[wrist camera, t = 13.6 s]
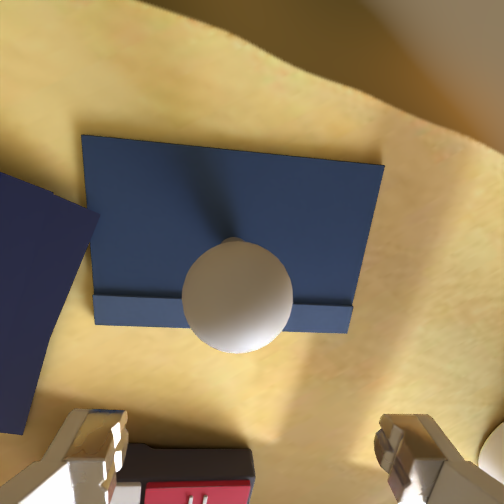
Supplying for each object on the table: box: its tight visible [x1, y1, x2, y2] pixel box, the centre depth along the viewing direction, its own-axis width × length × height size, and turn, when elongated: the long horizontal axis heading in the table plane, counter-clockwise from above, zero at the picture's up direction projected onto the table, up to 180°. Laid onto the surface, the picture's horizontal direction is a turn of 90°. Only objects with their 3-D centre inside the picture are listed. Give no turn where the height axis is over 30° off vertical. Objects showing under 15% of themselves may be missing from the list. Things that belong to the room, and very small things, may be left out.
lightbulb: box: [182, 237, 293, 353], centre depth 19 cm, size 6×6×11 cm
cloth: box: [81, 135, 385, 333], centre depth 25 cm, size 22×15×1 cm
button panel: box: [110, 443, 255, 504], centre depth 32 cm, size 11×4×15 cm
